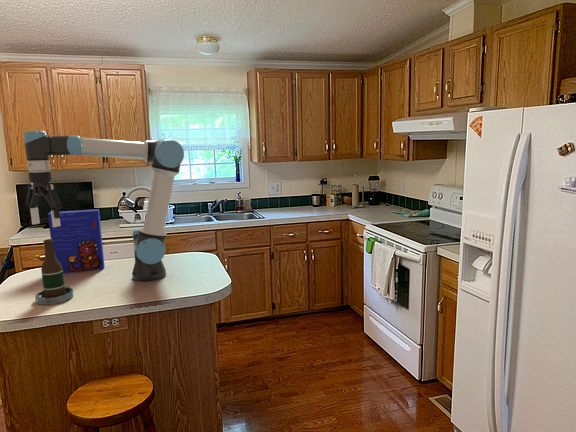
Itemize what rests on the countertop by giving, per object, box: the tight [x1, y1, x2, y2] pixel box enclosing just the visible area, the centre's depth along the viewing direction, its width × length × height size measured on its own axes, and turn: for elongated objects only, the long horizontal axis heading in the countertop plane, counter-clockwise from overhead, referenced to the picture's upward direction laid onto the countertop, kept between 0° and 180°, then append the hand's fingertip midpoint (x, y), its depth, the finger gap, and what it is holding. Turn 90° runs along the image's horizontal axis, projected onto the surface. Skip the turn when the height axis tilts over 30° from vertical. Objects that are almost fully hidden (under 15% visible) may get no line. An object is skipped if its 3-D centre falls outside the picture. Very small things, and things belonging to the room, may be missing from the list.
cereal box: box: [47, 208, 105, 275], centre depth 210 cm, size 22×6×30 cm, turn 109°
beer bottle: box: [40, 238, 66, 298], centre depth 171 cm, size 8×8×24 cm
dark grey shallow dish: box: [34, 286, 74, 306], centre depth 173 cm, size 13×13×3 cm
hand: (46, 225), depth 168 cm, fingers open, 13 cm apart
